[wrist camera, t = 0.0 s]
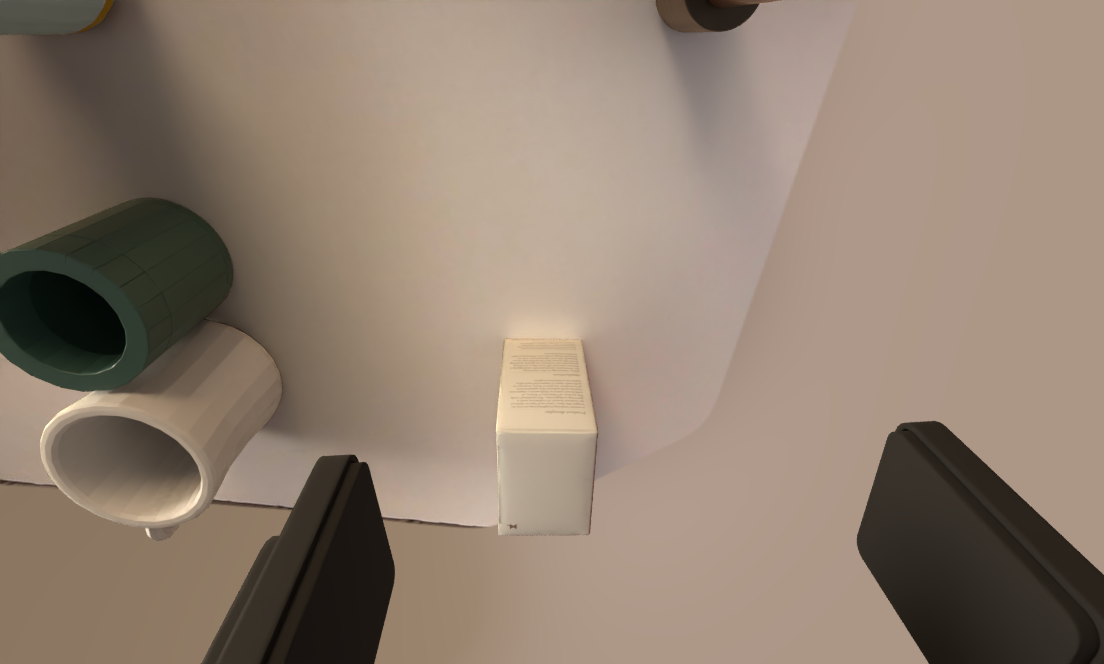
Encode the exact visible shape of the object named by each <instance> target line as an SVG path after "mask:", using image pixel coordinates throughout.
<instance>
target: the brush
mask: <svg viewBox="0 0 1104 664" xmlns="http://www.w3.org/2000/svg"><path fill="white" fill-rule="evenodd" d="M773 1H780V0H656V5H657V9H658V12H659V14H660V16H661V18H662V20H663V21H664V22H665V23H666V24H667V25H668V26H669V27H670V28H672V29H674V30H676V31H679V32H722V31H728V30H731V29H734V28H736V27H738V26H740V25H741V24H743V23H744V22H745V21H746V20H747V19H749V18H750V17H751V15H752V14H753V13H754V12H755V10H756V9H757V7H758V5H759V4H760V3H765V2H773Z"/></svg>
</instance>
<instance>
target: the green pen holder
mask: <svg viewBox="0 0 1104 664" xmlns="http://www.w3.org/2000/svg"><path fill="white" fill-rule="evenodd" d="M232 280H233V267H232V261H231V258H230V255H229V252H228V250H227V248H226V246H225V244H224V242H223V241H222V239H221V238H220V236H219V235H218V234H217V233H216V231H215V230H214V229H213V228H212V227H211V226H210V225H209V224H208V223H207V222H206V221H205V220H203V219H202V218H201V217H199V216H198V215H197V214H195V213H194V212H192V211H190V210H189V209H187V208H185V207H182V206H180V205H178V204H175V203H172V202H169V201H165V200H161V199H153V198H141V199H134V200H130V201H127V202H124V203H121V204H119V205H117V206H114V207H112V208H109V209H107V210H104V211H102V212H100V213H97V214H95V215H92V216H90V217H87V218H85V219H83V220H80V221H78V222H75V223H73V224H70V225H68V226H66V227H63V228H61V229H58V230H56V231H53V232H51V233H49V234H46V235H44V236H41V237H39V238H37V239H34V240H32V241H29V242H27V243H24V244H22V245H20V246H17V247H15V248H12V249H10V250H7V251H5V252H3V253H0V352H1V353H2V354H3V356H4V357H5V358H6V359H7V360H9V361H10V362H11V363H13V364H15V365H16V366H18V367H19V368H21V369H22V370H24V371H25V372H27V373H28V374H30V375H31V376H34V377H36V378H38V379H41V380H43V381H46V382H48V383H51V384H53V385H56V386H59V387H61V388H67V389H72V390H77V391H83V392H85V391H87V392H88V391H106V390H112V389H115V388H118V387H120V386H123V385H126V384H128V383H130V382H131V381H132V380H133V379H135V378H136V377H137V376H138V375H139V374H140V373H141V372H143V371H144V370H145V369H146V368H147V367H148V366H150V365H151V364H152V363H153V362H154V361H155V360H156V359H158V358H159V357H160V356H161V355H162V354H163V353H164V352H166V351H167V350H168V349H169V348H170V347H171V346H173V345H174V344H175V343H176V342H177V341H178V340H179V339H181V338H182V337H183V336H184V335H185V334H186V333H188V332H189V331H190V330H191V329H192V328H193V327H194V326H196V325H197V324H198V323H199V322H200V321H201V320H202V319H204V318H205V317H206V316H207V315H208V314H209V313H210V312H212V311H213V310H214V309H215V308H216V307H217V306H218V305H219V304H220V303H222V301H223V300H224V299H225V298H226V296H227V295H228V293H229V291H230V288H231V286H232Z"/></svg>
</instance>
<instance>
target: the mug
mask: <svg viewBox="0 0 1104 664" xmlns="http://www.w3.org/2000/svg"><path fill="white" fill-rule="evenodd" d="M281 393H282V382H281V376H280V373H279V370H278V368H277V366H276V364H275V362H274V360H273V359H272V358H271V356H270V355H269V354H268V353H267V352H266V350H265V349H264V348H263V347H262V346H261V345H260V344H259V343H257V342H256V341H255V340H253V339H252V338H251V337H250V336H248V335H247V334H245V333H243V332H241V331H239V330H237V329H235V328H233V327H231V326H228V325H224V324H221V323H217V322H213V321H205V320H201V321H200V322H199V323H198V324H197V325H196V326H194V327H193V328H192V329H191V330H190V331H189V332H188V333H186V334H185V335H184V336H183V337H182V338H181V339H179V340H178V341H177V342H176V343H175V344H174V345H173V346H171V347H170V348H169V349H168V350H167V351H166V352H164V353H163V354H162V355H161V356H160V357H159V358H158V359H156V360H155V361H154V362H153V363H152V364H151V365H150V366H148V367H147V368H146V369H145V370H144V371H143V372H141V373H140V374H139V375H138V376H137V377H136V378H135V379H133V380H132V381H131V382H130V383H128V384H126V385H123V386H120V387H118V388H115V389H112V390H106V391H93V392H92V393H90V394H88V395H87V396H85V397H83V398H82V399H80V400H79V401H77V402H75V403H74V404H72V405H70V406H69V407H67V408H66V409H64V410H62V411H61V412H59V413H58V414H57V415H56V416H55V417H54V418H53V419H52V420H51V421H50V422H49V423H48V425H47V426H46V427H45V429H44V432H43V435H42V438H41V440H40V450H41V460H42V463H43V465H44V467H45V469H46V471H47V474H48V476H49V477H50V478H51V479H52V481H53V482H54V483H55V484H56V486H57V487H58V488H59V489H60V491H61V492H63V493H64V494H65V495H66V496H68V497H69V498H70V499H71V500H72V501H74V502H75V503H76V504H77V505H79V506H81V507H83V508H85V509H86V510H88V511H90V512H92V513H93V514H95V515H97V516H100V517H103V518H105V519H108V520H111V521H113V522H116V523H120V524H125V525H130V526H135V527H144V528H145V529H146V532H147V535H148V536H149V537H150V538H151V539H153V540H156V541H160V540H165V539H167V538H170V537H171V536H172V535H173V533H174V532H175V531H176V530H177V528H178V527H179V525H180V524H182V523H184V522H187V521H190V520H192V519H194V518H196V517H198V516H199V515H200V514H201V513H202V512H204V511H205V510H206V509H207V508H208V507H209V506H210V504H211V502H212V500H213V499H214V497H215V495H216V493H217V491H218V489H219V487H220V485H221V483H222V481H223V479H224V477H225V475H226V473H227V471H228V469H229V467H230V466H231V465H232V463H233V462H234V460H235V459H236V458H237V456H238V455H239V454H240V452H241V451H242V450H243V448H244V447H245V446H246V444H247V443H248V442H249V441H250V439H251V438H252V437H253V436H254V435H255V434H256V433H257V432H258V431H259V430H260V429H261V428H262V427H263V426H264V425H265V424H266V423H267V422H268V420H269V419H270V418H271V417H272V416H273V414H274V412H275V410H276V409H277V407H278V405H279V403H280V399H281Z"/></svg>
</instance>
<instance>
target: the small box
mask: <svg viewBox="0 0 1104 664" xmlns="http://www.w3.org/2000/svg"><path fill="white" fill-rule="evenodd" d="M495 433H496V443H497V461H498V505H499V511H498V534H499V535H517V536H518V535H589V534H590V526H591V513H592V501H593V488H594V476H595V463H596V452H597V438H598V428H597V423H596V418H595V412H594V406H593V401H592V395H591V390H590V386H589V379H588V373H587V367H586V362H585V357H584V351H583V344H582V341H581V340H544V339H505V340H504V347H503V358H502V369H501V380H500V390H499V400H498V410H497V421H496V432H495Z"/></svg>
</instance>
